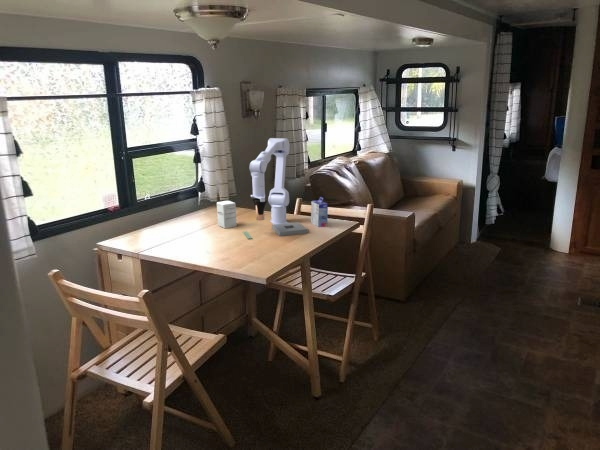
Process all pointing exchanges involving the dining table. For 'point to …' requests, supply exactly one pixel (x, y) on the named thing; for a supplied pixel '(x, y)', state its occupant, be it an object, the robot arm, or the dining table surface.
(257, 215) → the plug
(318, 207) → the ink cartridge box
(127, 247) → the dining table surface
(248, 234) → the mat
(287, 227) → the grey socket board
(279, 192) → the robot arm
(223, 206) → the supplement box
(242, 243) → the dining table surface
